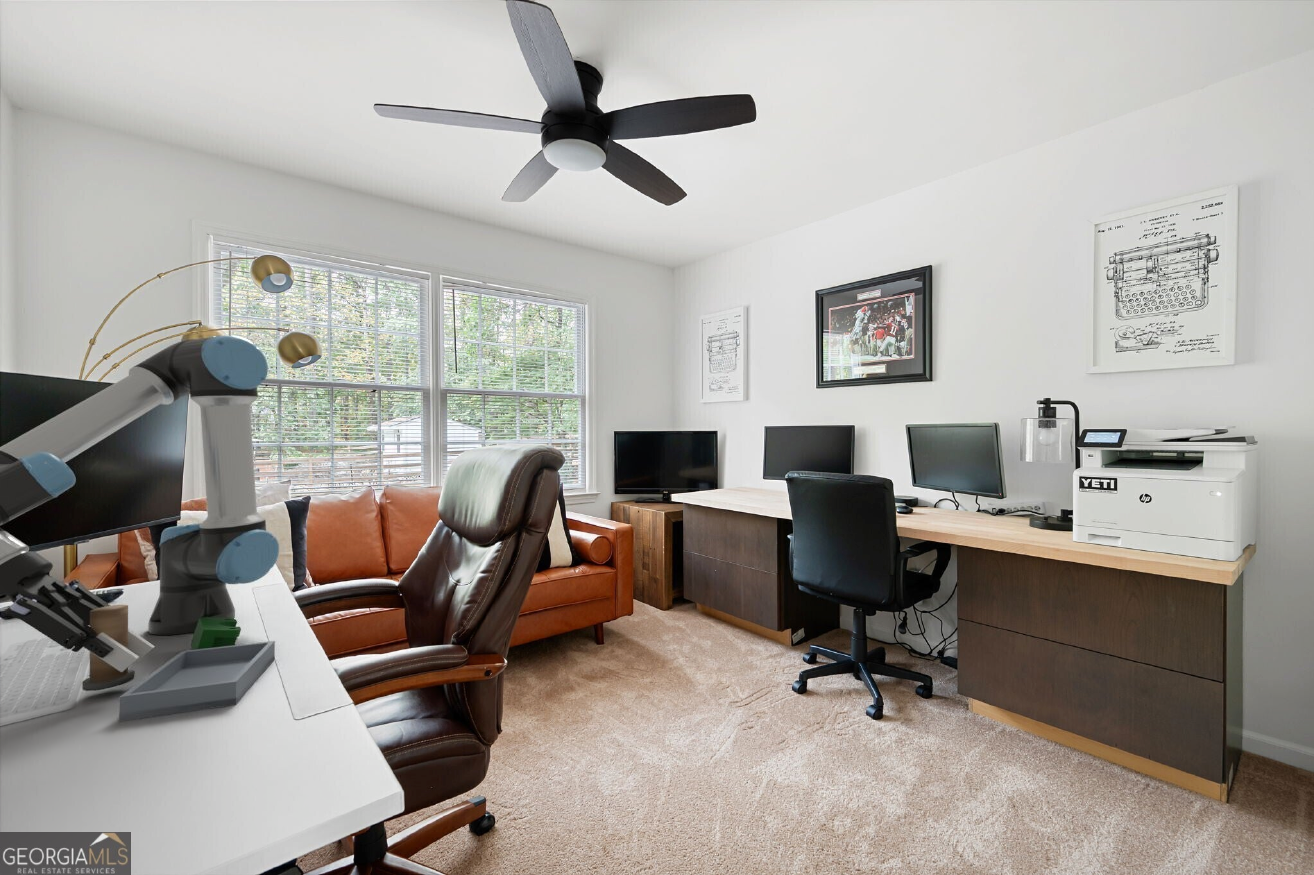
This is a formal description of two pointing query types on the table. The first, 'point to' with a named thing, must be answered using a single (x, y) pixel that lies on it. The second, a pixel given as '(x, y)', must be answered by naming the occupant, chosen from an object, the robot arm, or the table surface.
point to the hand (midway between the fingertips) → (138, 658)
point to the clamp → (215, 633)
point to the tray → (198, 681)
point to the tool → (116, 627)
